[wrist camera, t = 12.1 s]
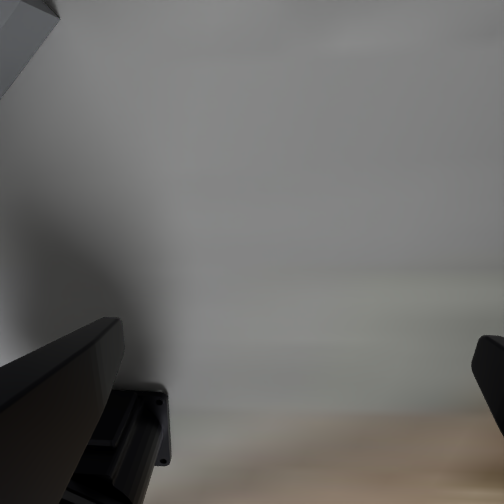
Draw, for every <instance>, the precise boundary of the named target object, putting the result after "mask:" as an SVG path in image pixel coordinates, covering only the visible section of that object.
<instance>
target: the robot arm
mask: <svg viewBox="0 0 504 504" xmlns="http://www.w3.org/2000/svg"><path fill="white" fill-rule="evenodd" d="M124 347H125V346H124V336H123V326H122V321H121V319H120V318H114V317H103V318H101V319H99V320H97V321H95V322H93V323H91V324H89V325H86V326H84V327H82V328H80V329H78V330H76V331H74V332H72V333H70V334H68V335H66V336H64V337H62V338H60V339H58V340H56V341H53V342H51V343H49V344H47V345H45V346H43V347H41V348H39V349H37V350H35V351H33V352H31V353H29V354H27V355H25V356H22V357H20V358H18V359H16V360H14V361H12V362H10V363H8V364H6V365H4V366H2V367H0V504H143V501H144V498H145V494H146V491H147V488H148V485H149V481H150V478H151V475H152V471H153V468H154V466H167V465H169V464H170V461H171V440H170V423H169V405H168V396H167V395H166V394H164V393H161V392H143V391H122V390H111V389H112V386H113V383H114V380H115V377H116V375H117V372H118V369H119V366H120V363H121V360H122V358H123V354H124ZM471 367H472V372H473V374H474V377H475V379H476V381H477V383H478V385H479V387H480V389H481V391H482V394H483V396H484V398H485V400H486V402H487V404H488V406H489V409H490V411H491V413H492V415H493V417H494V419H495V421H496V423H497V425H498V427H499V429H500V431H501V433H502V435H503V436H504V337H501V336H494V335H483V336H481V337H480V338H479V340H478V343H477V346H476V349H475V353H474V356H473V359H472V364H471ZM159 400H162V401H159Z"/></svg>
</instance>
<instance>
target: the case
mask: <svg viewBox="0 0 504 504" xmlns="http://www.w3.org/2000/svg"><path fill="white" fill-rule="evenodd" d="M59 20H60V18H59V17H58V16H57V15H56V14H55V13H54V12H53V11H52V10H51V9H50V8H49V7H48V6H47V5H46V4H45V3H44V2H43V1H42V0H0V99H1V98H2V96H3V95H4V94H5V92H6V91H7V90H8V88H9V87H10V86H11V84H12V83H13V82H14V80H15V79H16V78H17V76H18V75H19V74H20V72H21V71H22V70H23V68H24V67H25V65H26V64H27V63H28V61H29V60H30V59H31V57H32V56H33V55H34V53H35V52H36V51H37V49H38V48H39V47H40V45H41V44H42V43H43V41H44V40H45V39H46V37H47V36H48V35H49V33H50V32H51V31H52V29H53V28H54V27H55V25H56V24H57V23H58V21H59Z"/></svg>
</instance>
